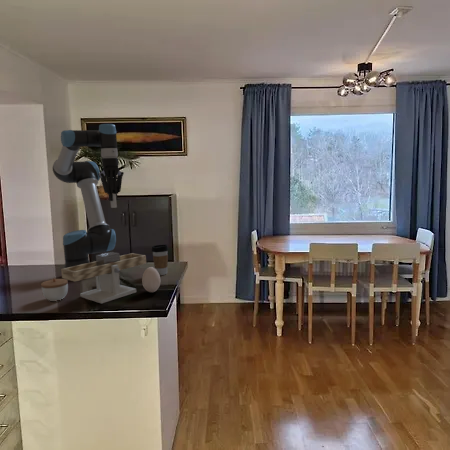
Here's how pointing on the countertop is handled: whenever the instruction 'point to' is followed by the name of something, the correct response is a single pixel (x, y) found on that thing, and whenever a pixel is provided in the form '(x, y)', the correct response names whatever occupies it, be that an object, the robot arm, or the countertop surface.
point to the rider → (107, 258)
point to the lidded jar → (55, 289)
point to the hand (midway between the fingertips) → (113, 207)
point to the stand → (108, 287)
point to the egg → (151, 279)
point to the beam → (101, 267)
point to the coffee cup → (160, 258)
